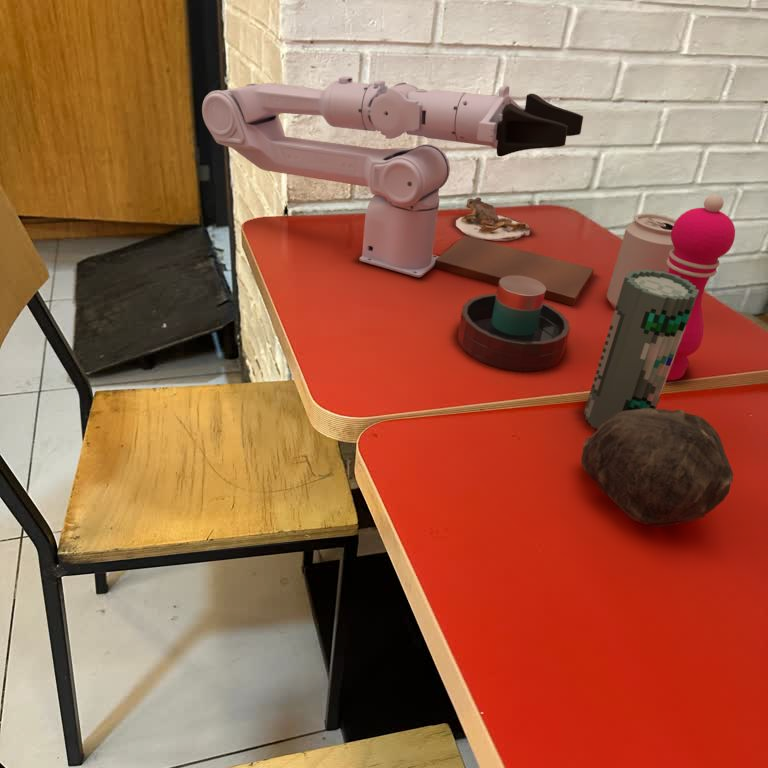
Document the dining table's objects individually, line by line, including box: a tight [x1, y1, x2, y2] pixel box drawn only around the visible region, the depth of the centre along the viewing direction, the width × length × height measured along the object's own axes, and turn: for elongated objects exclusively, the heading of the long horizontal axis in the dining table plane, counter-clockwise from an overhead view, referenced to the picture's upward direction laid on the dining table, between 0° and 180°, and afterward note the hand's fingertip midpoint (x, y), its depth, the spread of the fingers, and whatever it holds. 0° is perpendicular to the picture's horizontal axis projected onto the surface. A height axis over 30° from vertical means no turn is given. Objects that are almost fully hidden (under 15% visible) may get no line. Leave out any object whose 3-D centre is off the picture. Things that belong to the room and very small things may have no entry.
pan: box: [457, 293, 571, 372], centre depth 80 cm, size 12×12×4 cm
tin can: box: [489, 276, 546, 341], centre depth 79 cm, size 5×5×7 cm
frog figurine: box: [455, 196, 531, 242], centre depth 113 cm, size 12×12×4 cm
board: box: [433, 235, 595, 307], centre depth 99 cm, size 20×12×1 cm, turn 64°
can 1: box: [606, 213, 677, 309], centre depth 89 cm, size 8×8×12 cm
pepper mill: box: [666, 194, 736, 381], centre depth 74 cm, size 7×7×20 cm
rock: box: [580, 408, 734, 527], centre depth 57 cm, size 10×11×10 cm
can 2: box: [583, 269, 699, 430], centre depth 65 cm, size 6×6×15 cm
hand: (574, 130), depth 80 cm, fingers open, 7 cm apart
